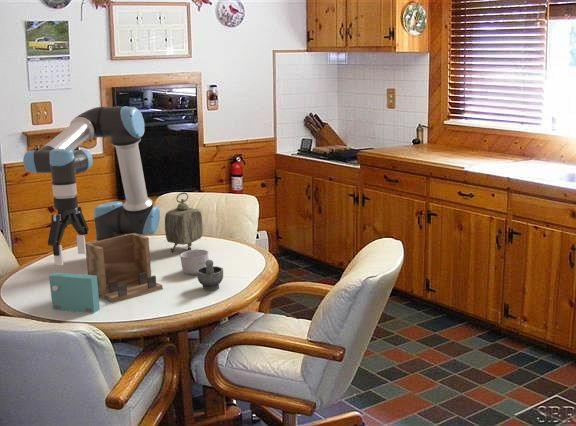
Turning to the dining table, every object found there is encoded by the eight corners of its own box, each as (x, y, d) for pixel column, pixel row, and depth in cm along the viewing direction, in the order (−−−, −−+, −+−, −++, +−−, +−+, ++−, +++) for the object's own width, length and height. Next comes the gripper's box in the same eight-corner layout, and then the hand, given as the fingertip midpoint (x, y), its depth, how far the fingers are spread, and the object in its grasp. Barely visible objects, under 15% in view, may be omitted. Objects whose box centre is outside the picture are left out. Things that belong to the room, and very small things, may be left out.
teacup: (204, 277, 285) (203, 257, 283) (177, 276, 287) (175, 256, 285) (215, 266, 298) (214, 247, 296) (189, 265, 300) (187, 246, 298)
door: (58, 305, 258) (55, 272, 256) (99, 309, 254) (96, 275, 251) (50, 310, 254) (46, 276, 251) (92, 314, 249) (88, 280, 246)
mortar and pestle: (197, 284, 276) (196, 253, 273) (223, 283, 277) (222, 251, 274) (197, 294, 265) (195, 262, 263) (224, 293, 266) (222, 260, 264)
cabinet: (89, 291, 272) (84, 243, 268) (137, 278, 285) (133, 232, 281) (113, 302, 259) (109, 252, 255) (162, 288, 273) (159, 240, 269)
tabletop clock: (189, 244, 330) (186, 188, 325) (205, 247, 325) (202, 190, 320) (166, 252, 319) (162, 194, 313) (182, 255, 314) (178, 197, 308)
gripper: (76, 188, 258) (81, 248, 263) (32, 203, 235) (38, 268, 240) (95, 189, 256) (100, 249, 261) (52, 204, 233) (59, 270, 237)
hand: (70, 259), depth 250 cm, fingers open, 13 cm apart
